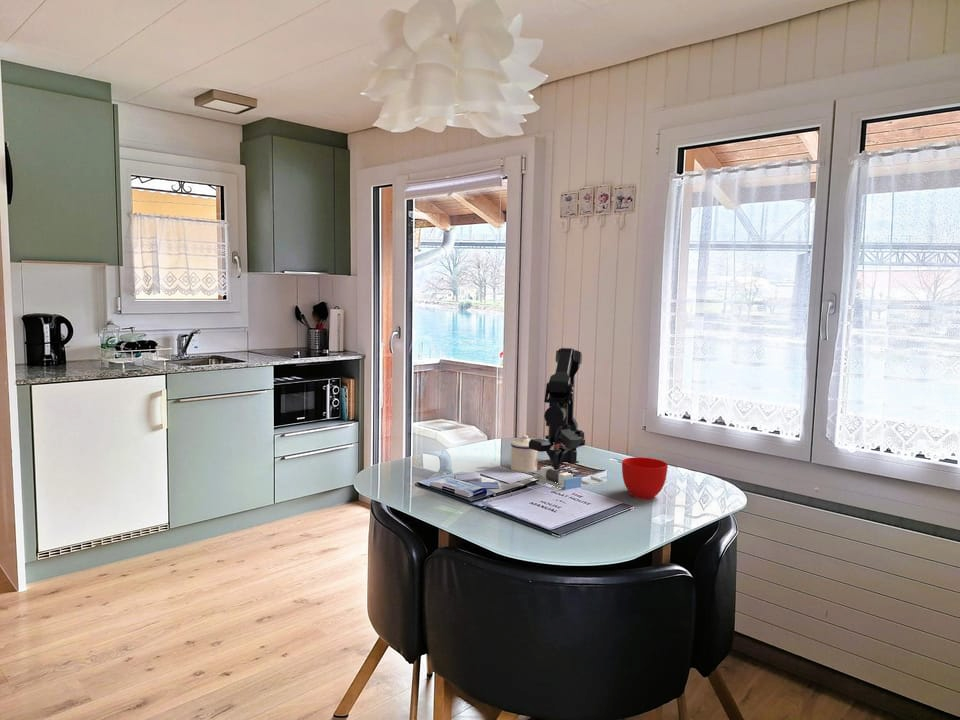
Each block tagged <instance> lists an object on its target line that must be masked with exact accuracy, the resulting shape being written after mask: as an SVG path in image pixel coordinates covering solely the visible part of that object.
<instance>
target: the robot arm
mask: <svg viewBox="0 0 960 720" xmlns="http://www.w3.org/2000/svg"><path fill="white" fill-rule="evenodd" d="M582 362H583V354H582V351H579V350H576V349H574V348H572V347H561V348H558V350H556V351H555V363H556V367H555V368H556V369H555V373H554V374H552V375H550V377H549V380H548V382H547V383H546V386H545V392H544V393H545V394H544V395H545V396H544V400H543V401H544V403H548V405H549V406H548V407H547V409H546V410H545V412H544V415H543V417H544V420H545V426H546V427H548V434H546V435H545V437H544V438H545V439H543V438H540V437H538V438H532V439H531V438H530V439H531V440H530V441H529V449H533V450H536V451H538V453H539V452H540V453H542V452H546V454H547V455H548V458H549V459H550V462H551V465H552V467H553V468H554V470H555V471H558V470H559V469H560V467H561V464H562V463H561V462H568V463H574V464H578V463H580V461H578V460H577V458H578V457H577V455H578V454H577V453H578V451H577V448H579V447H583V446H585V445H586V438H585V431H584V430H580V429H578V428H579V427H578V425H579V424H578V422H577V419H576V418H575V417H574V416H575V415H574V414H575V413H574V410H575V409H574V408H575V407H574V406H575V382H576V374H577V373H578V371H579V369H580V367H581V366H580V365H582V364H583V363H582Z"/></svg>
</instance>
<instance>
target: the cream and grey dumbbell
mask: <svg viewBox="0 0 960 720" xmlns="http://www.w3.org/2000/svg"><path fill="white" fill-rule="evenodd" d="M539 472H540V473H539V475H541V477H540V478H543V479H546V480H552V481H555V482H558V484H560V485H563V486H564V479H569V478H573V474H571V473H568V472H569V471H567V472H561V471H558V470H554V467H553V466H550V465H549V466H542V467H540V471H539Z"/></svg>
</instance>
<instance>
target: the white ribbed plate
mask: <svg viewBox="0 0 960 720" xmlns="http://www.w3.org/2000/svg"><path fill="white" fill-rule="evenodd" d="M570 470H572V471H575V472H577V469H576V470H575V469H570ZM592 475H593V474H591V475H588V476H590V477H591V479H587V480H582V477H573V478H569V479H564V486H563V485H560V484H557V483H558V482H556V483H555V481H552V480H546V479H543V478H540V477H541V475H540V474H533V475H532V478H535V479H537V480H539V482H536V483H535V484H538V485H540V486H543V485H544V484H546V483H548V484H550V485H553V486H555V487H553V486H552V487H551V488H549V487H547V488H548V489H551V490H554V491H556V492H557V491H561V490H564V489H565V490H564V491H568V490H573V489H577V488H582V487H583V486H588V485H593V484H598V483H602V482H608V481H609V480H608V479H607V478H603V477H599V476H597V477H595V476H596V475H594V476H592ZM557 487H558V488H557ZM559 488H561V489H559ZM572 488H573V489H572Z"/></svg>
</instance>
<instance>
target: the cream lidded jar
mask: <svg viewBox="0 0 960 720" xmlns="http://www.w3.org/2000/svg"><path fill="white" fill-rule="evenodd" d="M530 440H531V438H529V436H528V435H527V434H523V435H521V437H520V438H518V439H517V440H514V441H512V442H511V443H510V446H511V453H510V454H511V457H510V459H511V460H510V470H512V471H513V470H515V471H514V472H517V471H518V472H517V473H534V472H536V471H537V470H538V453H539V451H536V450H533V449H529V441H530Z"/></svg>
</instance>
